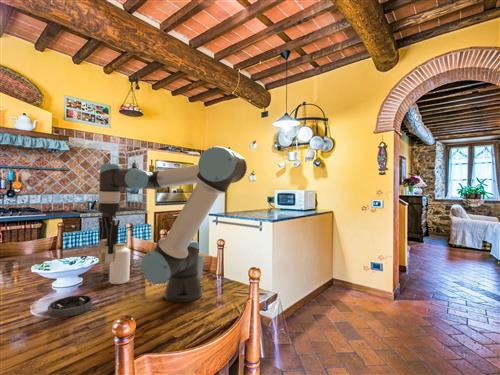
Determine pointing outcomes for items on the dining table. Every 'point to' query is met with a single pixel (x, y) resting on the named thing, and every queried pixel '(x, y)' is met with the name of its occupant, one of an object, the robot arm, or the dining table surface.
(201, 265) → the cup
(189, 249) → the robot arm
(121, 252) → the potion bottle
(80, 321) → the dining table surface
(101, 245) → the tan rectangular block
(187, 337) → the dining table surface
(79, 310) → the tin
